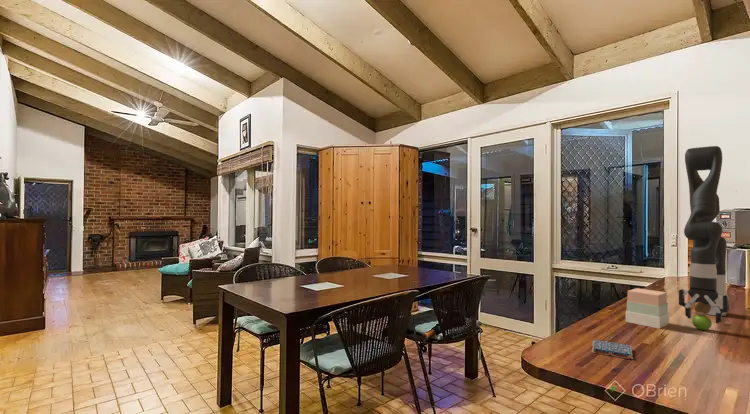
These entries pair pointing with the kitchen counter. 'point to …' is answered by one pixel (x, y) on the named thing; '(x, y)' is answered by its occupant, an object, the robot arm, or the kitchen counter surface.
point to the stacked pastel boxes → (647, 308)
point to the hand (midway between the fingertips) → (703, 320)
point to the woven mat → (612, 349)
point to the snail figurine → (701, 316)
